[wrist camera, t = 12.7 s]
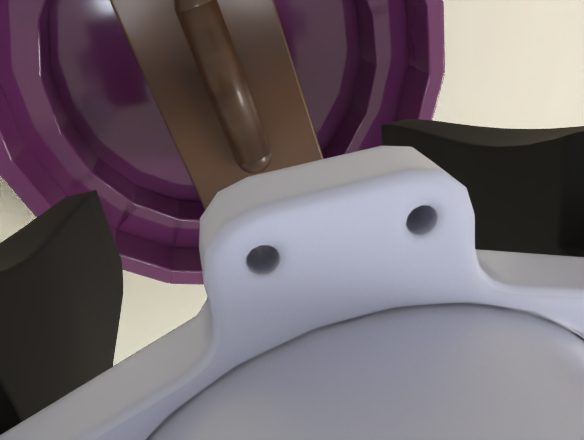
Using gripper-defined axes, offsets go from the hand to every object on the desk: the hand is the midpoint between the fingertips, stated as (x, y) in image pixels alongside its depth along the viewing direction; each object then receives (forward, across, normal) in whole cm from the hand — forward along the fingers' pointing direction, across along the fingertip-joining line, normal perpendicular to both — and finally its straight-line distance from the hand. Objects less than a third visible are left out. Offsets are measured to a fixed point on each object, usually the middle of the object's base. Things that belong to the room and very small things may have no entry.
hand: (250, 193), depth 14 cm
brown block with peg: (+8, 0, -2) cm, 8 cm away
